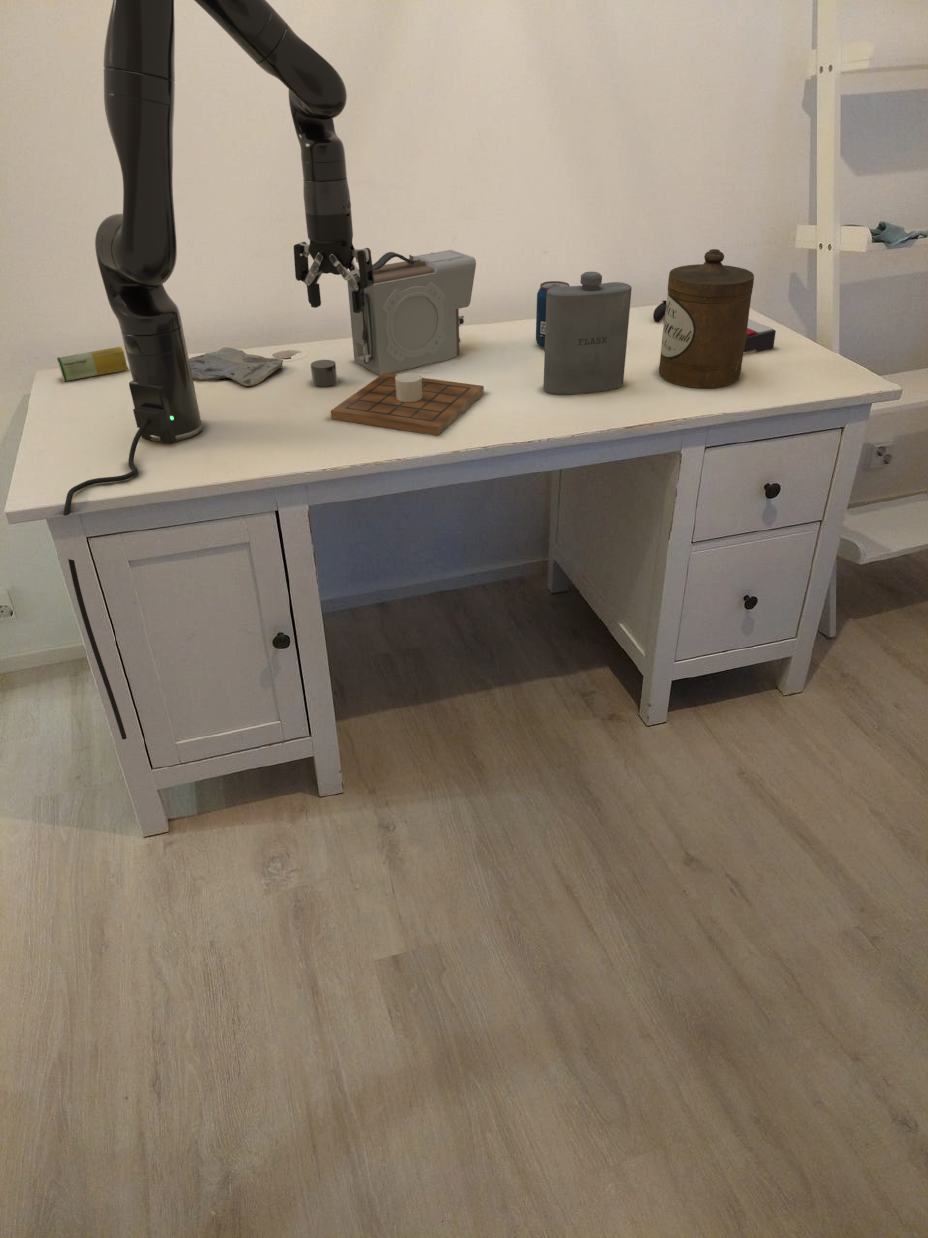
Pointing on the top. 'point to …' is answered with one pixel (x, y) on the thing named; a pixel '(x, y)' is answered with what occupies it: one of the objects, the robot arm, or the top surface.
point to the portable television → (412, 311)
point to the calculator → (759, 337)
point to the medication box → (92, 363)
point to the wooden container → (705, 323)
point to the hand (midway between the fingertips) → (337, 309)
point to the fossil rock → (233, 366)
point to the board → (408, 405)
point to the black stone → (324, 373)
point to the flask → (586, 336)
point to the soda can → (543, 310)
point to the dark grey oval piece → (659, 311)
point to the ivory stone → (408, 387)
